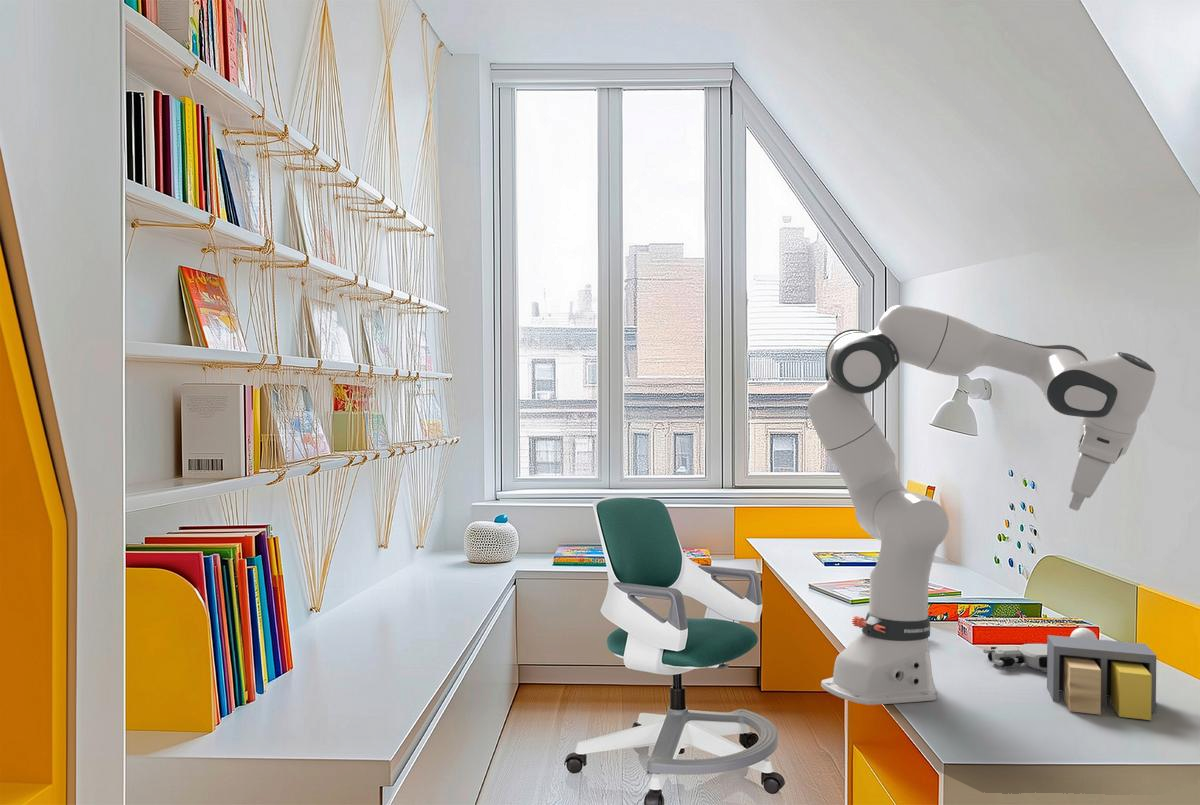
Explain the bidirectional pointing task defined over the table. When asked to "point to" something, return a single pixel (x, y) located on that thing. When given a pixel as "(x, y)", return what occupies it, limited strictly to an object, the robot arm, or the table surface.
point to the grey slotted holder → (1102, 656)
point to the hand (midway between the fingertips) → (1076, 499)
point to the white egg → (1083, 633)
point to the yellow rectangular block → (1131, 690)
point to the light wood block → (1082, 685)
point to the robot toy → (1019, 656)
